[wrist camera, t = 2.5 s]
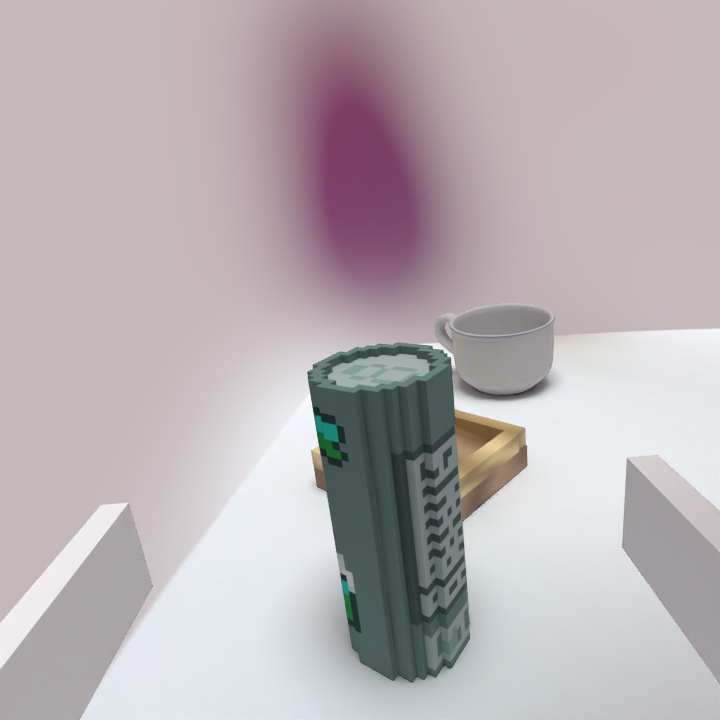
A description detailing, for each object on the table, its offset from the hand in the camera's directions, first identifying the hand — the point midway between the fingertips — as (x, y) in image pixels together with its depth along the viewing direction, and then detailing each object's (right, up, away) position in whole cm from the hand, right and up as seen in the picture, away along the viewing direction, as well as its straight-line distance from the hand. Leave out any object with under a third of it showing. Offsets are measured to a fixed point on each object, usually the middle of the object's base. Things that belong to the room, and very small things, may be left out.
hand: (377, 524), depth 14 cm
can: (+2, -10, +14) cm, 17 cm away
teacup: (+15, +2, +45) cm, 47 cm away
